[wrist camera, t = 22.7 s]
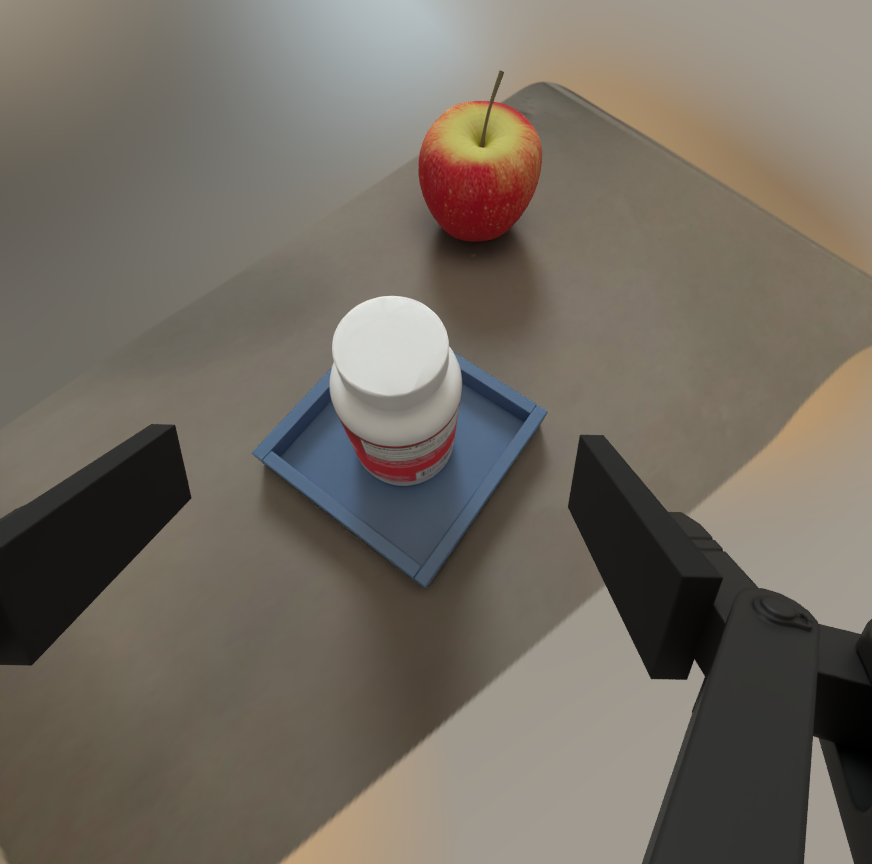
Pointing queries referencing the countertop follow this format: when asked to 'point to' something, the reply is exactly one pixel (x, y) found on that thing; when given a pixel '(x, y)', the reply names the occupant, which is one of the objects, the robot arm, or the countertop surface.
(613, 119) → the countertop surface
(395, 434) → the pill bottle
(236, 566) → the countertop surface
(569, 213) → the countertop surface
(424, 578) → the medicine tray
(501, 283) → the countertop surface
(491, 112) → the apple
